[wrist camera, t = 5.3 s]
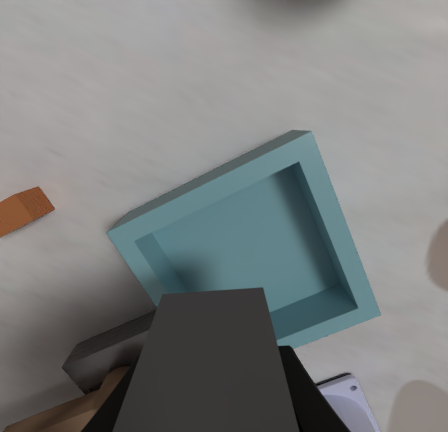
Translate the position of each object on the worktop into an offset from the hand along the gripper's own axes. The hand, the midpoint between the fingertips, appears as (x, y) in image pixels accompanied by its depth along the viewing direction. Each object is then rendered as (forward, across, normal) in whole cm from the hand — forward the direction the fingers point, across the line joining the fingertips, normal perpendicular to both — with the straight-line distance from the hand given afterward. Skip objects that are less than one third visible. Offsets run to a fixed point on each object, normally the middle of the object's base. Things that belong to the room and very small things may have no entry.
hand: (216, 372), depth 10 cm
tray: (+9, -2, 0) cm, 9 cm away
